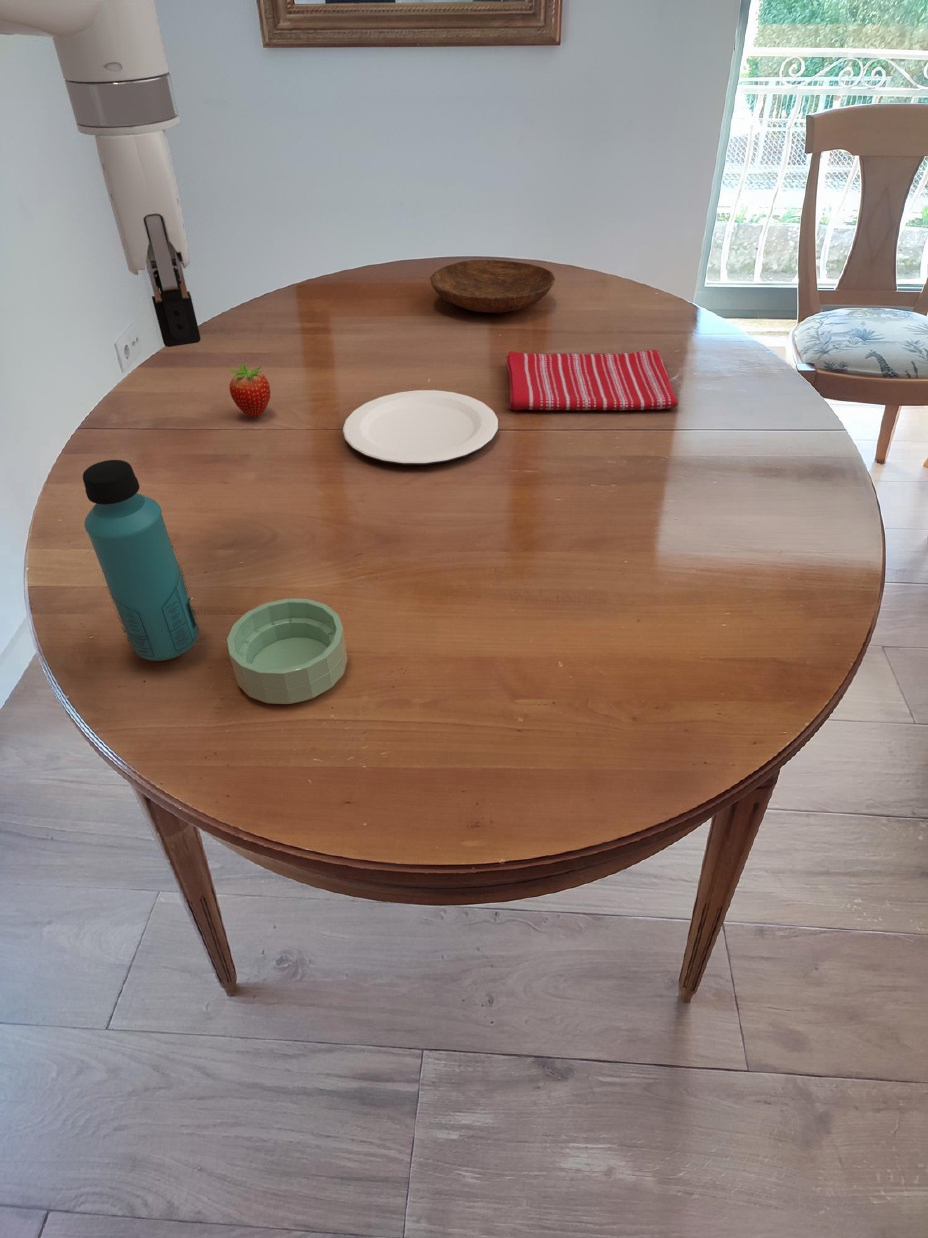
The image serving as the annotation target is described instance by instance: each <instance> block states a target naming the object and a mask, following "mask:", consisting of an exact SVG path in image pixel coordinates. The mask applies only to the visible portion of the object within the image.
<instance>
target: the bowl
mask: <svg viewBox="0 0 928 1238" xmlns="http://www.w3.org/2000/svg"><path fill="white" fill-rule="evenodd" d="M429 281H430V285H431V286H432V288H433V290H434V291H435V293H437V294H438V295H439V296H440V297H441V298H442V299H443V300H444V301H446V302H448V303H450V304H452V305H455V306H458V307H459V308H462V309H465V310H469V311H472V312H476V313H489V314H491V313H492V314H501V313H509V312H510V313H511V312H514V311H519V310H521V309H525V308H527V307H529V306H532V305H535V304H536V303H538V302H539V301H540V300H541V299H543V298H544V297H545V296H546V295H547V294H548V293H549V292H550V290H551V288H552V287H553V285H554V283H555V281H556V277H555V275H554V274H553V272H552V271H551V270H549V269H546V268H545V267H543V266H538V265H535V264H532V263H524V262H518V261H507V260H497V259H496V260H495V259H473V260H464V261H460V262H455V263H451V264H448V265H445V266H443V267H442V268H440V269H438V270H435V272H434V273H433V274H432V275H431V276H430V277H429Z"/></svg>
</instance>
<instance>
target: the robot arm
mask: <svg viewBox="0 0 928 1238" xmlns="http://www.w3.org/2000/svg"><path fill="white" fill-rule="evenodd" d="M155 2H156V1H155V0H0V35H7V36H11V35H12V36H13V35H14V36H15V35H21V36H35V37H36V36H37V37H47V38H52V41H53V44H54V49H55V52H56V55H57V59H58V62H59V66H60V70H61V73H62V76H63V79H64V84H65V87H66V92H67V93H68V97H69V102H70V104H71V109H72V113H73V116H74V119H75V120H74V121H75V122H76V128H77V131H78V133H81V134H84V135H88V136H94V139H95V143H96V149H97V154H98V157H99V159H98V160H99V163H100V167H101V172H102V176H103V179H104V183H105V187H106V191H107V195H108V198H109V202H110V206H111V210H112V214H113V217H114V220H115V225H116V228H117V232H118V235H119V239H120V242H121V243H120V244H121V246H122V250H123V253H124V258H125V261H126V265H127V268H128V271H129V272H130V273H131V274H133V275H134V276H137V275H139V271H145V270H147V274H148V276H149V280H150V285H151V288H152V292H153V295H151V299H152V303H153V308H154V312H155V315H156V320H157V323H158V328H159V330H160V335H161V339H162V343H163V345H164V346H165V347H166V348H172V347H179V346H185V345H193V344H198V343H200V341H201V334H200V330H199V325H198V321H197V317H196V311H195V308H194V304H193V298H192V295H191V292H190V291H189V290H188V289H187V284H186V279H185V275H184V271H183V270H184V269H186V268H187V267H188V266H189V265H190V263H191V262H190V256H189V255H190V253H189V247H188V239H187V232H186V226H185V219H184V213H183V208H182V203H181V198H180V197H181V196H180V192H179V186H178V183H177V178H176V173H175V168H174V164H173V163H174V162H173V158H172V154H171V149H170V143H169V140H168V135H167V131H166V130H169V129H172V128H175V127H177V126H178V125H180V124H181V123H180V122H181V120H180V116H179V112H178V107H177V101H176V98H175V97H176V96H175V92H174V88H173V83H172V78H171V74H170V70H169V64H168V60H167V55H166V50H165V44H164V41H163V36H162V31H161V26H160V21H159V15H158V11H157V7H156V3H155Z"/></svg>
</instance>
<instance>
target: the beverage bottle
mask: <svg viewBox="0 0 928 1238" xmlns="http://www.w3.org/2000/svg"><path fill="white" fill-rule="evenodd" d="M82 481H83V485H84V489H85V494H86V497H87V500H89V502H91V503H93V504H94V505H93V506H92V508H91V509H90V510H89V511H88V513H87V515H86V517H85V519H84V522H83V523H84V525H83V526H84V529H85V531H86V533H87V534H88V537H89V540H90V542H91V545H92V547H93V550H94V552H95V553H94V554H95V556H96V558H97V561H98V563H99V565H100V568H101V571H102V576H103V578H102V579H103V581H104V579H105V582H106V585H107V586H106V585H105V584H104V585H105V587H106V589H107V591H108V595H109V597H110V599H112V602H113V606H114V607H115V608H114V610H115V611H116V612H117V614H116V616H117V619H118V620H119V622H121V624H120V626H121V628H122V631H123V633H124V636H125V637H126V639H127V642H128V644H129V647H131V649H132V651H133V652H134V653H135V654H137V656H138V657H140V658H142V659H144V660H148V661H153V662H154V661H155V662H157V661H158V662H159V661H161V662H162V661H167V660H171V659H174V658H177V657H179V656H181V655H183V654H185V653H186V652H188V651H189V650H190V649H192V647H193V646H194V645H195V643H196V642H197V641H198V637H199V632H200V630H199V625H198V617H197V615H196V611H195V609H194V607H193V606H192V602H191V601H192V598H191V597H192V596H191V594H190V592H189V590H188V585H187V582H186V581H185V576H184V574H183V573H182V570H183V569H182V567H180V565H181V563H180V562H179V561H178V559H177V552H176V550H175V548H174V546H173V544H172V542H171V538H170V536H169V533H168V529H167V527H166V524H165V521H164V517H163V512H162V511H163V510H162V508H161V506H160V504H159V503H158V502H157V501H156V500H155V499H153V498H151V497H149V496H146V495H143V494H141V493H138V492H139V490H140V482H139V479H138V478H137V476H136V474H135V472H134V469H133V467H132V465H131V464H130V463H129V462H128V461H126V460H123V459H122V460H121V459H108V460H103V461H98V462H96V463H93V464H92V465H90V466H89V467H87V468H85V470H84V471H83V473H82ZM178 562H179V563H178Z"/></svg>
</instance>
